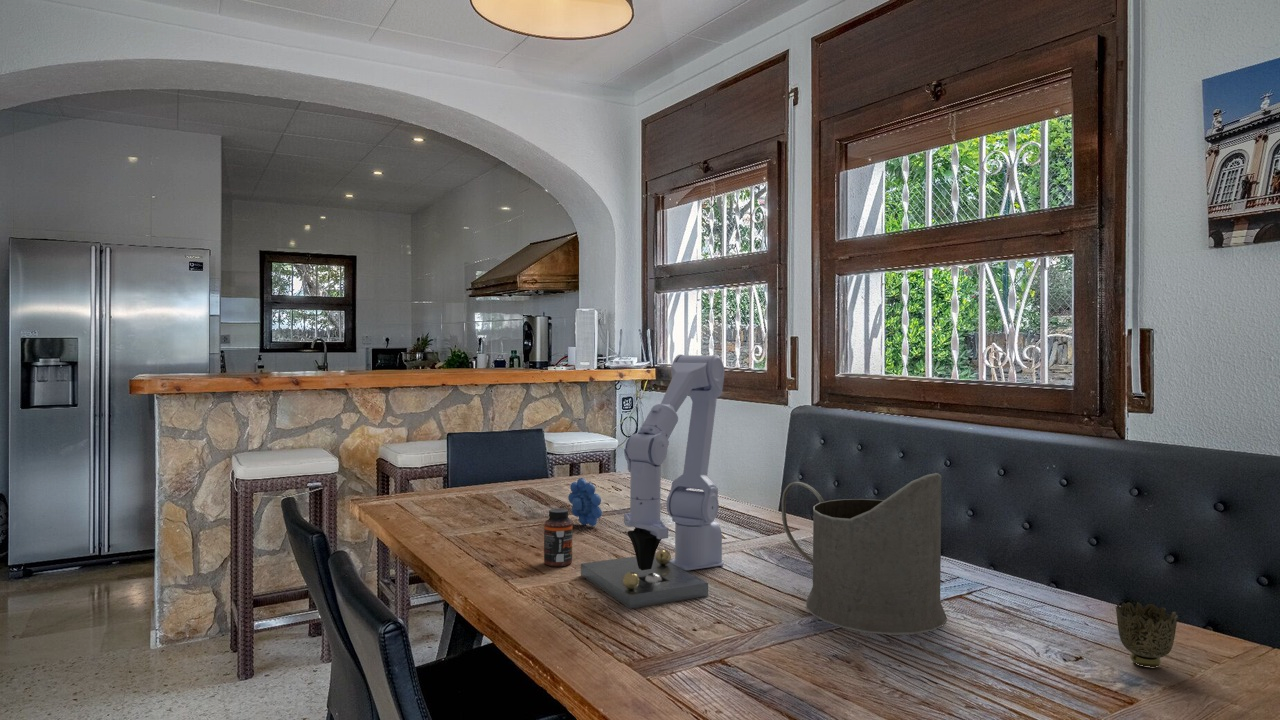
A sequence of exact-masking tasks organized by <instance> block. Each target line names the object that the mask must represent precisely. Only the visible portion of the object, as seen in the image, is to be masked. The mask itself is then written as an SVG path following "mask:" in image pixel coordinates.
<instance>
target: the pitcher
mask: <svg viewBox="0 0 1280 720" xmlns="http://www.w3.org/2000/svg"><path fill="white" fill-rule="evenodd" d="M794 485H797V486H801V487H804V488H805V489H807V490H809V491H810V492H811V493H812V494H814V496H815V497H816V498H817V500H818V503H816V504H815V505H813V507H812V509H813V511H812V513H813V516H812V517H813V518H812V519H813V523H812V524H813V525H812V526H813V527H812V528H813V529H812V531H813V532H812V533H813V534H812V536H813V537H812V557H811V556H809V555H808V554H807V553H806V552H805V551H804V550H803V549H802V548H801V547H800V545H799V544H798V543H797V541H796V540H795V538H794V537H793V536H794V535H792V533H791V531H790V528H789V525H788V521H787V496H788V493H789V491H790V489H791V488H792V487H793V486H794ZM781 518H782V519H781V521H782V525H783V528H784V531H785V535H786V536H787V538H788V539H789V541H790V542H791V544H792V546H793V547H794V548H795V550H797V552H798V553H799V554H800V555H801V556H802V557H803V558H804V559H805V560H806V561H808V562H809V563H811V564H812V587H811V590H810V592H809V595H807V596H808V597H807V598H806V605H805V609H806V610H807V611H808V612H809V613H810V614H811V615H812V616H813V617H816V618H817V619H819V620H822V621H823V622H824V623H827V624H831V625H833V626H835V627H836V626H837V627H840V628H842V629H846V630H851V631H857V632H861V633H865V634H866V633H867V634H877V635H878V634H879V635H887V636H888V635H889V636H894V635H895V636H897V635H899V636H900V635H901V636H902V635H918V634H924V633H929V632H928V631H930V632H933V631H935V629H936V630H937V628H938V629H940V628H942V627H943V626H942V625H945V624H946V622H945V621H947V620H948V617H947V615H946V612H945V609H944V607H943V604H942V602H941V573H942V572H941V571H942V570H941V564H942V563H941V561H942V559H941V558H942V557H941V556H942V555H941V554H942V553H941V552H942V547H941V546H942V545H941V544H942V475H941V474H939V473H938V472H935V473H930V474H926V475H923V476H921V477H919V478H917V479H914V480H912V481H910V482H909V483H906V485H904V486H902V487H901V488H899V489H898V490H897V491H895V492H894V493H892V494H891V495H889V497H887V498H886V499H884V500H883V499H868V498H867V499H865V498H859V499H858V498H856V499H855V498H854V499H852V498H851V499H850V498H849V499H833V500H827V501H825V500H824V498H823V497H822V495H821V494H820V492H818V490H816V489H815V488H814V487H812V485H809V484H808V483H805V482H801V481H793V482H790V483H789V484H788V485H787V486H786V487H785V488H784V490H783V493H782V496H781ZM946 619H947V620H946ZM944 623H945V624H944ZM941 626H942V627H941ZM939 627H940V628H939ZM923 632H924V633H923Z"/></svg>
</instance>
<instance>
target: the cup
mask: <svg viewBox="0 0 1280 720" xmlns="http://www.w3.org/2000/svg"><path fill="white" fill-rule="evenodd" d="M1116 604H1117V605H1115V606H1114V607H1115V612H1116V613H1115V614H1116V621H1117V630H1118V634H1119V636H1118V637H1119V639H1120V642H1121V643H1122V645H1123V647H1124V648H1125V649H1126V650H1127V651H1129V652H1130V657H1129V658H1130V660H1131V662H1132V661H1133V662H1134V663H1137V664H1139V665H1143V666H1150V667H1156V666H1159V665H1160V666H1161V664H1162V661H1161V658H1163V657H1166V656H1167V655H1168V654H1170V652H1171V651H1172V649H1173V646H1174V641H1175V637H1176V629H1177V623H1178V618H1179V615H1178V614H1177V613H1176V611H1172V612H1171V614H1170V613H1167V610H1166V608H1165V607H1164V606H1160V608H1158V607H1157V606H1156V605H1154V604H1153V603H1149V604H1146V605H1145V606H1143V604H1141V603H1140V602H1139V601H1138V602H1136V604H1135V605H1134V604H1133V603H1131V602H1130V601H1128V602H1126V603H1125V601H1123V602H1122V603H1121V605H1119V603H1116ZM1133 662H1132V663H1133ZM1134 663H1133V664H1134ZM1160 666H1159V667H1160Z"/></svg>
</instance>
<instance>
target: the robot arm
mask: <svg viewBox="0 0 1280 720" xmlns="http://www.w3.org/2000/svg"><path fill="white" fill-rule="evenodd" d="M725 371H726V370H725V367H724V362H723V361H722V358H721V357H720V356H719V354H718V355H717V354H712V355H699V354H698V355H693V354H692V355H688V354H687V355H684V354H678V355H676V356H675V358H674V360H673V361H672V364H671V366H670V375H671V380H670V382H669V384H668V386H667V389H666V391H665V394H664V395H663V398H662V400H661V402H660V404H654V405H653V406H652V407H651V409H650V411H649V413H648V414H647V416H646V417H645V420H644V421H643V423H642V424H641V427H640V428H639V430H638V432H637V433H633V434H632V435H630V436H629V437H628V438H627V440H626V443H625V447H624V448H623V452H624V453H623V454H624V457H625V460H626V462H627V470H628V473H630V485H629V486H630V488H629V489H630V491H629V492H630V493H629V494H630V495H629V496H630V498H629V499H630V503H629V505H630V506H629V508H630V512H625V513H624V514H623V524H624V525H625V526H626V527H628V528H631V527H632V528H633V529H632V530H629V531H627V536H628V538H629V540H630V542H631V544H632V547H633V549H634V553H635V556H636V559H637V563H638V567H639V569H641V570H648V569H651V568H652V564H653V560H654V556H656V554H657V549H658V547H659V545H660V543H661V541H662V540H664V539H666V540H667V539H669V527H668V526H666V525H665V524H664V522H663V520H662V519H661V485H662V483H661V482H662V481H661V478H662V477H661V475H662V474H661V473H662V472H661V470H662V469H661V468H662V466H661V465H662V464H663V463H665V462H664V461H665V460H666V458H667V455H668V447H669V445H670V440H669V439H670V436H671V435H672V433H673V431H674V429H676V428H675V427H676V426H677V424H678V421H679V416H678V414H677V412H678V410H679V409H680V407H681V406H682V405H683V403H684V402H685V401H686V399H687V398H688V397H690V400H691V402H692V403H691V411H690V419H689V425H688V426H689V427H688V434H687V442H686V451H685V456H684V457H685V459H684V465H683V472H682V474H681V475H680V476H678V477H677V478H676V479H674V480H673V481H672V482H671V488H670V491H669V493H668V496H667V498H666V511H667V513H668V515H669V517H670V518H672V519H671V521H672V522H673V523H675V529H674V530H675V532H674V541H675V542H674V558H671V560H670V562H669V563H670V564H672V565H674V566H676V567H678V568H680V569H682V570H684V571H686V572H688V571H694V570H695V571H696V570H700V569H701V570H702V569H706V568H707V569H708V568H716V567H721V566H724V562H723V560H722V559H723V550H722V549H723V533H722V530H721V527H720V525H719V523H718V522H717V521H716V520H715V519H716V518H717V516H718V513H719V508H720V506H719V495H718V494H719V488H718V487H717V485H716V484H715V483H714V482H713V481H712V480H711V479H710V478H709V477H708V472H709V466H710V455H711V448H712V440H713V439H712V438H713V433H714V432H713V431H714V425H715V424H714V423H715V415H716V409H717V400H718V398H719V397H721V396H722V394H723V389H724V382H725V381H724V380H725V375H726V374H725V373H726V372H725ZM689 489H690V490H689ZM698 490H700V491H698ZM701 490H702V491H701Z"/></svg>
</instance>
